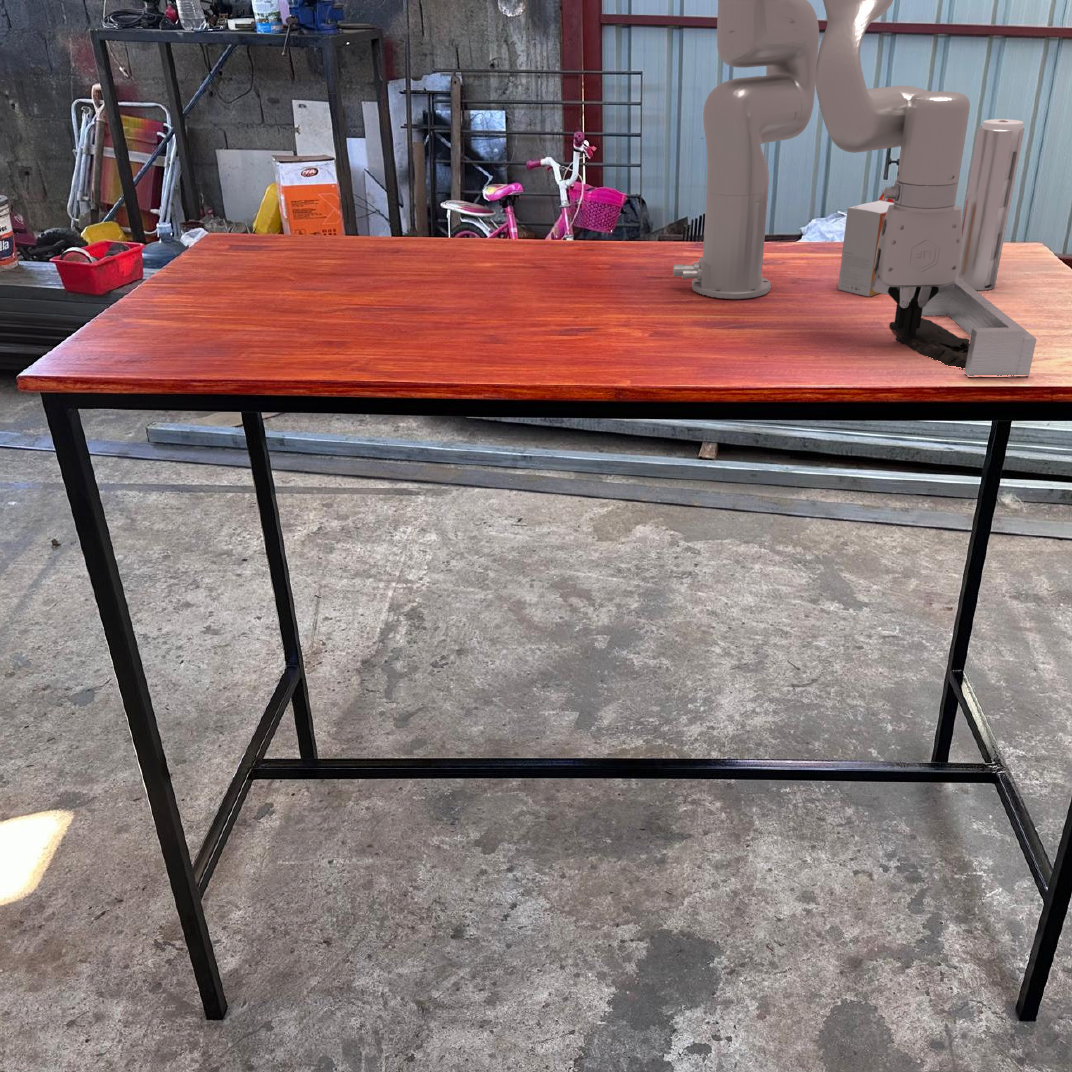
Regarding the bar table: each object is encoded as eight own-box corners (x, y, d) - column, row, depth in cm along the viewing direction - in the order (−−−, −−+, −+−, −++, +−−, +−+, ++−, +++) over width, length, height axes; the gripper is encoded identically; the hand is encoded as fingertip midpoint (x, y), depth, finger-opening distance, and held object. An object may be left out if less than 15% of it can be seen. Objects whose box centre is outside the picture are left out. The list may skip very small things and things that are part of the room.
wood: (869, 328, 154) (872, 308, 153) (917, 324, 155) (920, 303, 154) (945, 380, 135) (949, 357, 133) (999, 374, 136) (1003, 352, 134)
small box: (869, 297, 166) (880, 213, 159) (836, 289, 170) (846, 206, 164) (900, 288, 170) (912, 205, 164) (867, 280, 174) (878, 199, 168)
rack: (968, 378, 133) (976, 332, 130) (904, 312, 158) (910, 273, 155) (1028, 377, 133) (1038, 331, 130) (955, 312, 158) (962, 272, 155)
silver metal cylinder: (988, 280, 173) (1018, 117, 161) (999, 291, 167) (1031, 123, 155) (947, 280, 173) (974, 117, 162) (957, 290, 168) (985, 123, 156)
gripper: (875, 202, 133) (858, 343, 142) (994, 199, 133) (970, 340, 142) (859, 191, 140) (844, 326, 148) (973, 188, 139) (951, 324, 148)
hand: (905, 333), depth 145 cm, fingers closed
